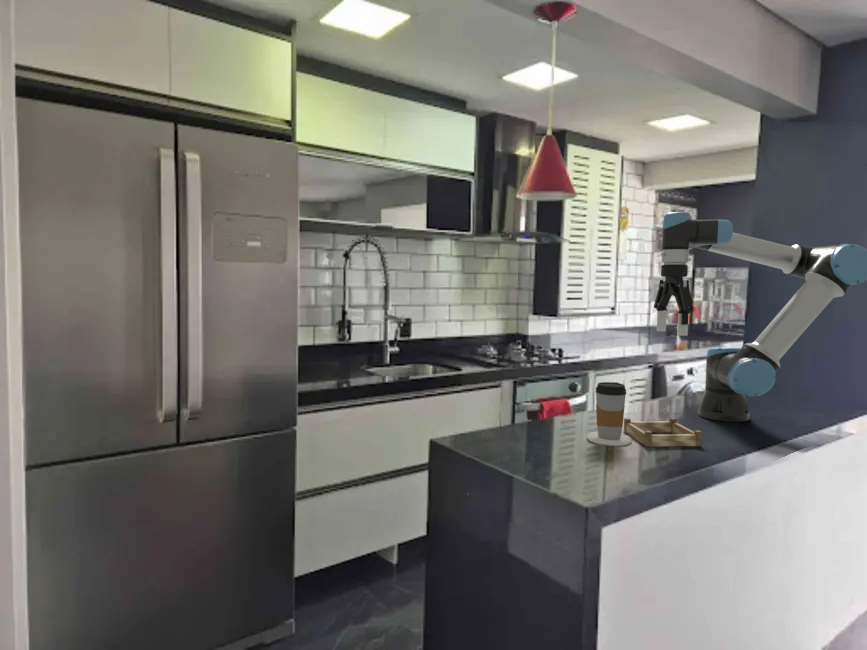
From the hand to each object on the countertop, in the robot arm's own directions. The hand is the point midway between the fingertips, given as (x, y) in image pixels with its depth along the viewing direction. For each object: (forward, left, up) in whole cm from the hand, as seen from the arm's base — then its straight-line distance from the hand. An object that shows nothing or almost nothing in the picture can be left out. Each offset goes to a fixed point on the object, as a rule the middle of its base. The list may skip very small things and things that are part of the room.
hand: (671, 333), depth 175 cm
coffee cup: (+25, +15, -28) cm, 40 cm away
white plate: (+25, +15, -29) cm, 41 cm away
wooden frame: (+9, +14, -29) cm, 33 cm away
